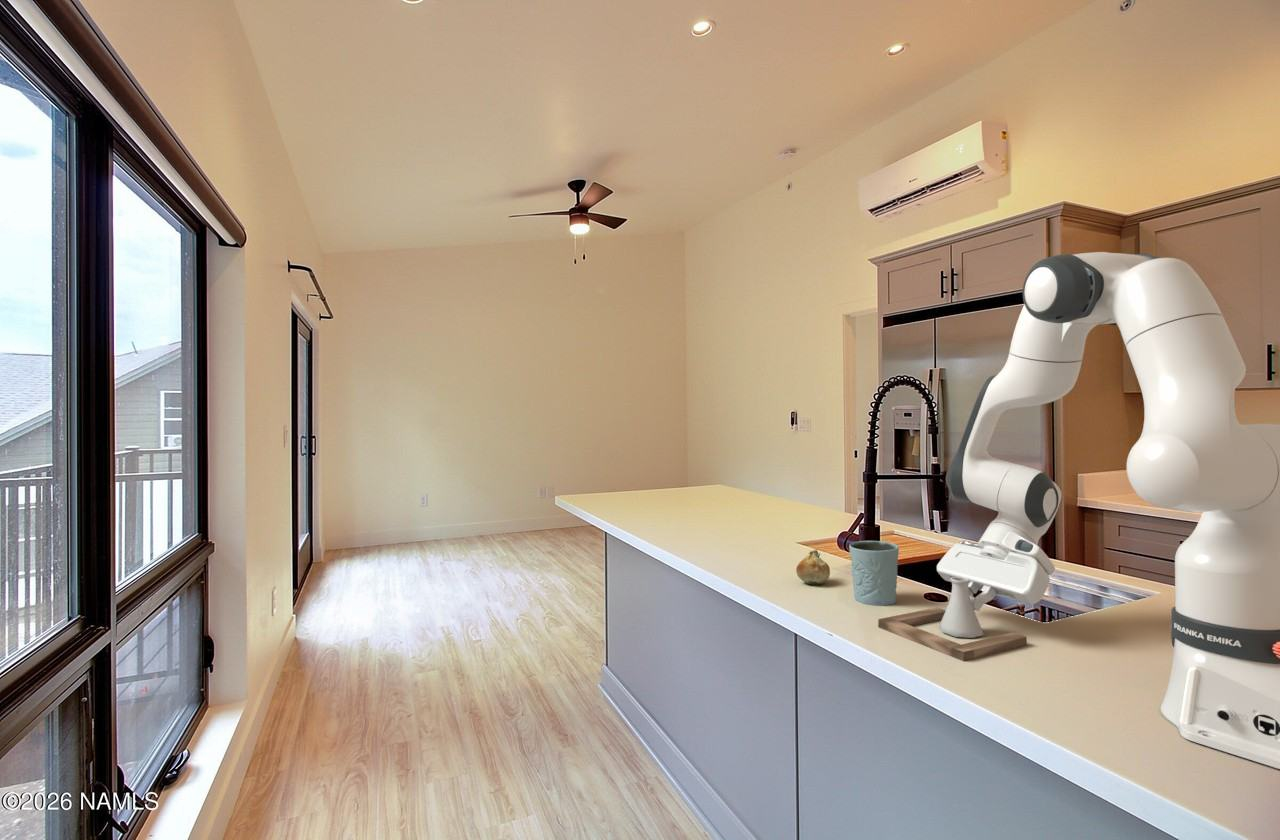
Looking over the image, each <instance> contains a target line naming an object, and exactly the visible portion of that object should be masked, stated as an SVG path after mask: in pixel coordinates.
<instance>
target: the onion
mask: <svg viewBox="0 0 1280 840" xmlns="http://www.w3.org/2000/svg"><path fill="white" fill-rule="evenodd" d="M807 554H808V555H807V556H804V558H803V559H802V560H800V562H799V563H798V564H797V566H796V568H795V569H796V570H795V571H796V572H795V573H796V575H797V576H798V578H799V579H800V580H801V581H803V582H804V583H806V584H808V585H814V586H816V585H821V584H823V583H825V582H826V581H828V580H829V578H830V576H831V575H830V574H831V569H830V566H829V564H828V563H827V562H826V561H824V560H823V559H822V558H820V556H821V553H820V552H819V551H818V549H815V550H814V549H813V550H810V552H808V553H807Z"/></svg>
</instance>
